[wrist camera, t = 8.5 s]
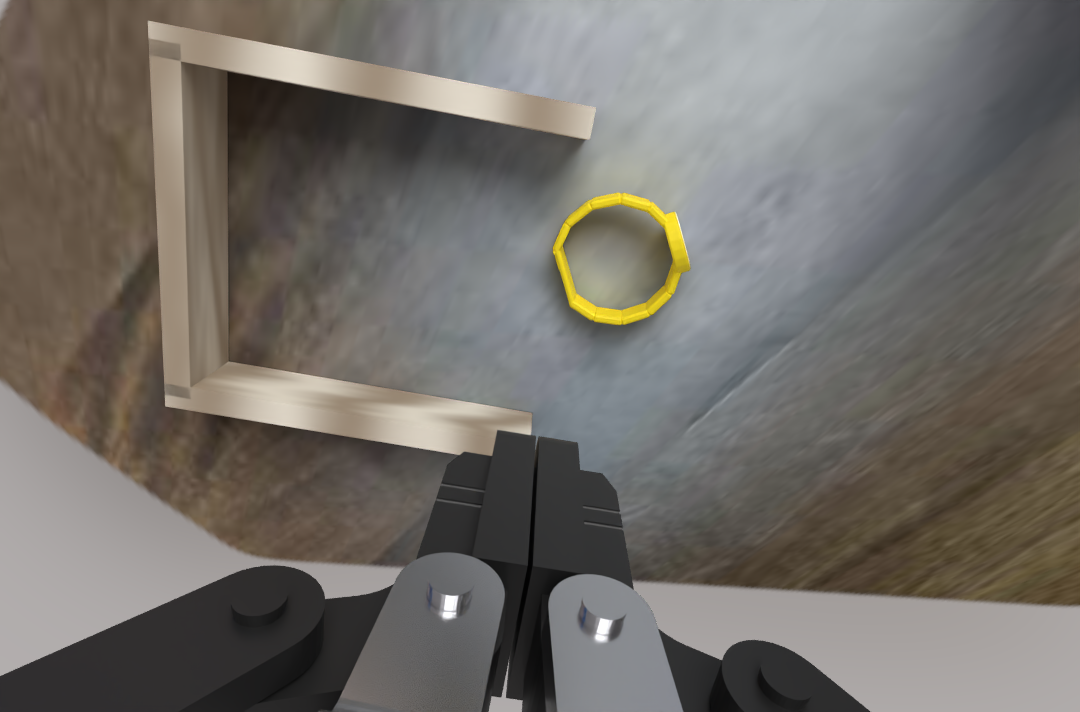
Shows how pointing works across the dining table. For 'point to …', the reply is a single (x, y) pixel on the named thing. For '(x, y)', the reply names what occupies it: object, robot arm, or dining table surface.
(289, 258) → the dining table surface
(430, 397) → the open wooden frame
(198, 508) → the dining table surface
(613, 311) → the watch
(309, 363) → the dining table surface
